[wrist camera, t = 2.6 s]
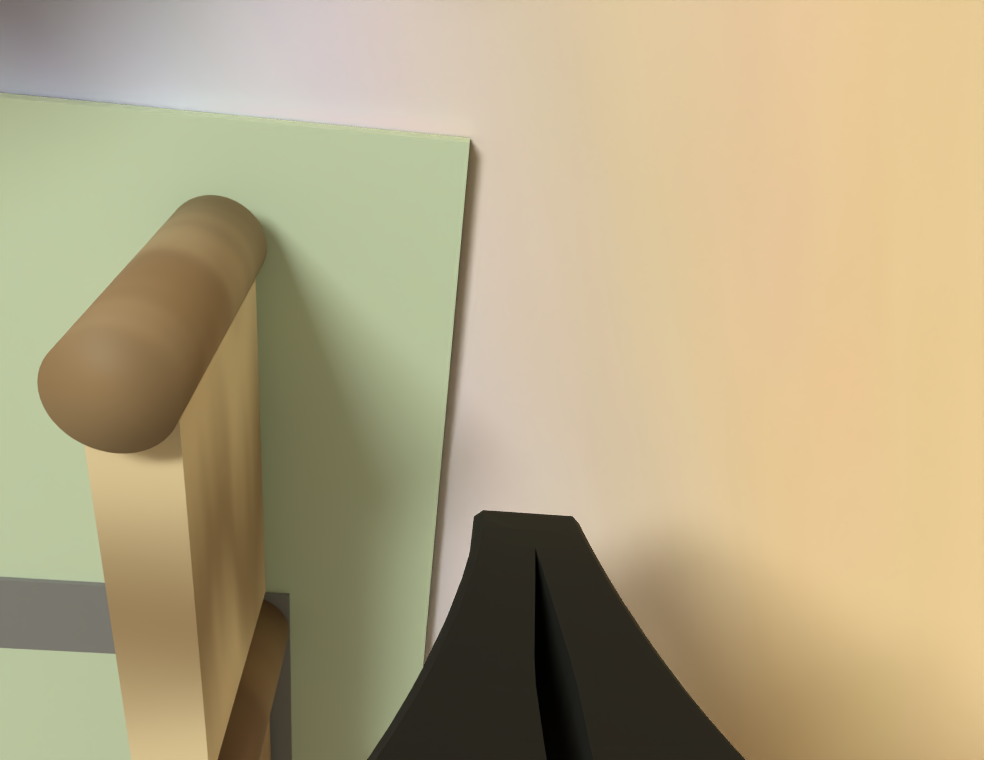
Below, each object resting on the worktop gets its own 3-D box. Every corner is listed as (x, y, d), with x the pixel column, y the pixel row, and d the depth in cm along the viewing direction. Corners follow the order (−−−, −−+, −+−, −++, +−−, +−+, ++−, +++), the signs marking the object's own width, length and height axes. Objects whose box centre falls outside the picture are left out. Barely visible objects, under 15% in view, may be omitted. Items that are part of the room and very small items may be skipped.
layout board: (-70, 889, 24) (-77, 904, 24) (-368, 56, 14) (-390, 61, 13) (401, 905, 25) (400, 919, 25) (469, 137, 14) (469, 143, 14)
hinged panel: (275, 591, 18) (214, 813, 14) (196, 587, 18) (111, 809, 14) (265, 199, 14) (175, 339, 10) (164, 190, 14) (26, 327, 10)
